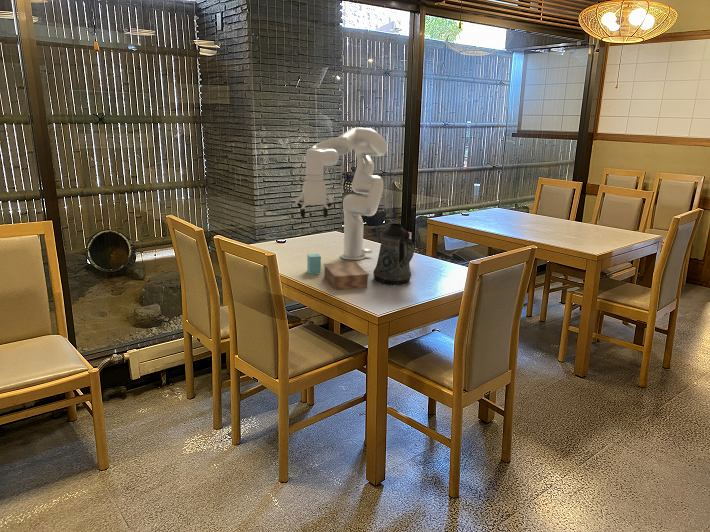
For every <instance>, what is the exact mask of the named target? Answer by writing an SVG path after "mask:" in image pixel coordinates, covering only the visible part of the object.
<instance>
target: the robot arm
mask: <svg viewBox="0 0 710 532" xmlns="http://www.w3.org/2000/svg"><path fill="white" fill-rule="evenodd" d="M353 150H354V153H355V156H356V161H357V165H356V169H355V173H354V175H353V179H352V182H351V189H352V191H353V192H354V193H352V194H351V193H349V194H347V195H346V196H344V198H343V200H342V209H343V221H344V222H343V223H344V224H343V228H344V229H343V252H341V253H340V254H339V255H340V258H341V259H344V260H348V261H359V260H365V258H366V254H372V253H373V250H372V249H368V248H364V247H363V245H364V220H363V217H362V216H364V217H365V216H367V217H372V216H375V214H376V213H377V211H378V208H379V205H380V202H381V198H382V194H383V191H384V180H383V178H382V177H381V176H379V175H376V174H375V175H373V174H374V172H375V171H374V170H375V163H374V162H373V158H371V157H372V156H373V157H383V156H384V155H385V154H386V153H387V150H388V144H387V141H386V140H385V138H384V137H383V136H382V135H380V133H378V132H377V131H376V130H374V129H373V128H370V127H353V128H350V129H348V130H347V131H345V132H344V133H342V134H341V135H339V136H337V137H332V138H330V139H327V140H323V141H320V142H318V143H316V144H315V145H313V146H311V147H310V148H309V149H307V150H306V153H305V155H306V156H305V181H303V184H302V185H303V186H302V194H301V195H299V196H298V197H296V198H294V201H295V203H296V205H297V206H298V207H299V208H300V217H301V218H302V219H306V218H305V217H306V209H305V208H306V207H307V206H323V209H322V211H323V214H322V216H323V218H324V219H326V218H327V216H328V214H329V213H328V210H329V208H330V207H331V206H332V204H333V202H334V201H335V199H334V198H333V197H332V196H330V195H327V188H326V183H325V180H327V179H328V178H327V177H328V176H327V175H325V174H324V167H333V166H335V165H337V163H338V162H339V159H340V156H345V155H347V154H348V153H350V152H352V151H353ZM355 193H356V194H355ZM327 200H329V201H328V202H327ZM300 201H302V203H301V202H300Z"/></svg>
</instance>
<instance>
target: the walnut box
mask: <svg viewBox="0 0 710 532" xmlns="http://www.w3.org/2000/svg"><path fill="white" fill-rule="evenodd" d="M323 266H324V278H325V279H326V280H328V281H327V283H329V284H330V285H332V286H333V287H332V286H331V287H332V288H333V289H334V290H335V289H341V290H353V288H356V289H368V284H369V282H368V280H369V276H370V274H369V273H368V272H367V271H366V270H365V269H364V268H363V267H362V266H361V265H360V264H359V263H358V262H356V261H353V262H352V261H351V262H335V263H334V262H333V263H331V262H330V263H324V264H323Z"/></svg>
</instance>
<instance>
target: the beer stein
mask: <svg viewBox="0 0 710 532" xmlns="http://www.w3.org/2000/svg"><path fill="white" fill-rule="evenodd" d="M409 232H410V231H408V230H405V229H404V228H403V226H402V223H401V224H400V223H390V224H389V226H388V227H387V228H385V229H384V230H382V231H381V233H380V234H379V235H380V236H379V237H380V239H381V243H380V247H379V252H378V256H377V257H378V258H377V262H376V266H375V268H374V269H373V271H372V272H373V273H372V274H373V277H374V278H373V280H374V281H375V282H376V283H377V282H378V284H380V283H381V285H384V284H385V285H386V286H393V285H397V286H404V285H407V284H408V282H409V283H410V281H411V277H412V272H411V269H410V263H409V262H411V260H412V259H413V256H414V253H415V245H414V242H413V241H412V240H413V239H412V238H411V239H410V238H409V236H410V235H409ZM403 284H404V285H403Z"/></svg>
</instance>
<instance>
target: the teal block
mask: <svg viewBox="0 0 710 532" xmlns="http://www.w3.org/2000/svg"><path fill="white" fill-rule="evenodd" d="M321 258H322V256H321V255H320V254H319V253H309V254H307V265H306V267H307V269H306V271H307V273H308V272H309V273H308V275H318V274H317V273H321V272H322V271H321V270H322V269H321V268H322V267H321V266H322V264H321V263H322V260H321Z"/></svg>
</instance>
